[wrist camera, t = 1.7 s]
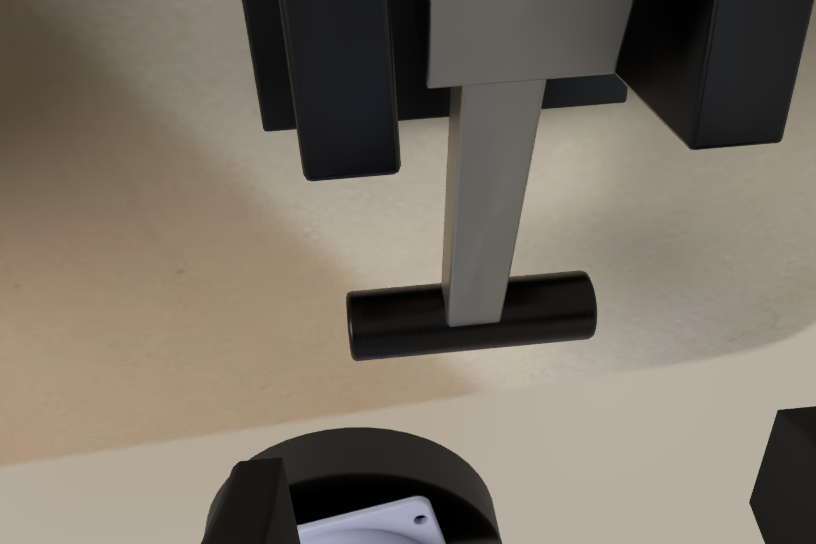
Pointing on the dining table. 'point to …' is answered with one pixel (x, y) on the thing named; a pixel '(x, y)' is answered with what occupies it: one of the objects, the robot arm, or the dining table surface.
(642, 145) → the dining table surface
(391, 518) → the robot arm
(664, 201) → the dining table surface
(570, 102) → the bracket
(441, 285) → the lever
